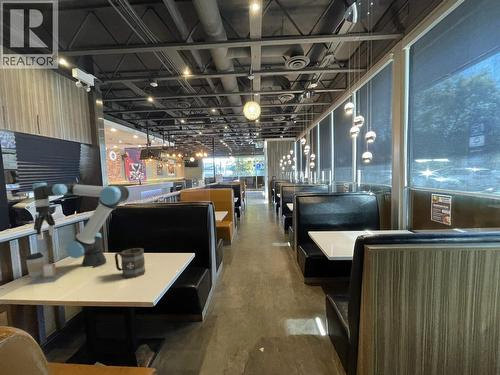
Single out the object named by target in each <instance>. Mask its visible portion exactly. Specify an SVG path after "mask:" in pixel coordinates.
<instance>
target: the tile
mask: <svg viewBox="0 0 500 375" xmlns="http://www.w3.org/2000/svg"><path fill="white" fill-rule="evenodd" d="M56 274H57V271H56V263H45V264H44V265H43V274H42V275H43V276H44V278H48V277H55V276H56Z"/></svg>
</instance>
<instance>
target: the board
mask: <svg viewBox="0 0 500 375" xmlns="http://www.w3.org/2000/svg"><path fill="white" fill-rule="evenodd" d="M67 273H68V272H60V273H56V276H55V277H48V278H44V276H43V274H42V275H39V276H36V277H35V278H33V279H31V281H29V282H28V283H25V284H24V286H31V285H39V284H47V283H48V284H50V283H55V282H57V281H58V280H59V279H60V278H62V277H63V276H65V275H66V274H67ZM68 274H69V273H68Z"/></svg>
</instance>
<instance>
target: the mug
mask: <svg viewBox="0 0 500 375" xmlns="http://www.w3.org/2000/svg"><path fill="white" fill-rule="evenodd" d="M144 250H145V249H144V248H142V247H136V248H135V247H134V248H129V249H124V250H122V251H118V252H116V253H115V254H114V260H115V267H116V269H117V271H119V272H120V271H121V272H122V278H124V279H133V278H134V279H136V278H140V277H142V276H144V275H145V273H146V268H145V262H146V261H145V254H144ZM118 255H119V256H120V257H121V268H120V264H119V259H118V258H119V257H118Z"/></svg>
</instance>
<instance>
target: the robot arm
mask: <svg viewBox="0 0 500 375" xmlns="http://www.w3.org/2000/svg"><path fill="white" fill-rule="evenodd" d="M32 193H33V199H34V206H35V213H36V214H35V215H34V217H35V219H34V225H33V230H34V231H36V236H37V241H38V240H39V241H40V240H44V234H43V229H42V227H43V224H44V221H45V222H46V224H48V233H49V236H55V228H54V226H55V225H56V222H55V218H54V217H53V215H52V211H51V207H50V199H49V198H50V197H59V196H67V195H69V196H70V195H71V196H72V195H74V196H84V197H85V196H86V197H98V198H99V199H98V205H97V207H96V209H95V210H94V212H93V213H92V214H91V217H90V218H89V220H88V221H87V223H86V224H85V225H84V227H83V228H82V230H81V232H79V233H77V234H75V236H74V238H73V240H71V241H69V242H68V243H67V244H66V247H65V250H66V253H67V255H68V256H69V257H71V258H73V259H78V258H83V259H82V262H81V266H82V267H87V268H88V267H90V268H91V269H92V268H98V267H100V266H103V265H105V264H107V258H106V255H105V254H104V250H103V237H102V233H100V232H99V231H100V230H101V228H102V226H103V225H104V224H105V223H106V220H107V218H109V215H110V214H111V212H112V211H113V210H116V209H117V207H118V206H119V204H120V203H124V202H126V201H127V200H128V199H129V197H130V190H129V189H128V187H126V186H124V185H108V186H103V185H102V186H101V185H100V186H99V185H88V184H75V183H56V184H49V185H48V183H47V182H35V183H33V184H32Z"/></svg>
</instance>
